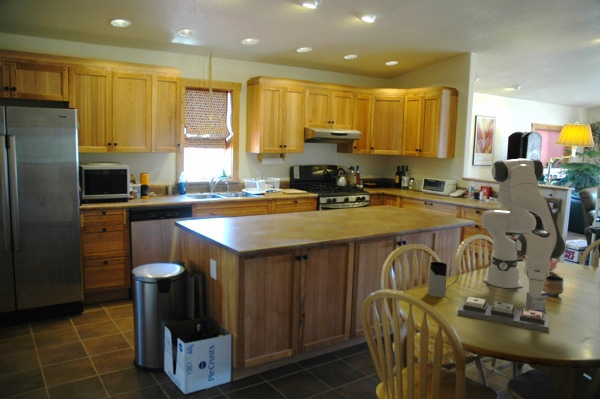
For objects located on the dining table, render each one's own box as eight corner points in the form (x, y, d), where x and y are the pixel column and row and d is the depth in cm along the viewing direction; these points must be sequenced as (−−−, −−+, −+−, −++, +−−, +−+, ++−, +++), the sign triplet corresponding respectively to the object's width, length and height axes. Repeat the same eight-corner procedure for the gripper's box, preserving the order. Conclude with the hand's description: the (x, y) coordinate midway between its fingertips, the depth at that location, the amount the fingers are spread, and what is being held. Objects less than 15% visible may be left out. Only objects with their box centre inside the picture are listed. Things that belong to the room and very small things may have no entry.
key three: (523, 313, 187) (523, 308, 187) (541, 316, 184) (542, 311, 184) (522, 318, 181) (522, 313, 181) (541, 322, 178) (542, 317, 178)
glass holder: (425, 290, 221) (427, 261, 219) (455, 292, 219) (457, 262, 217) (429, 296, 212) (431, 265, 210) (459, 298, 210) (462, 267, 209)
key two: (495, 305, 193) (495, 301, 192) (512, 309, 189) (513, 304, 189) (493, 310, 186) (493, 306, 186) (511, 314, 183) (512, 309, 183)
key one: (468, 300, 198) (468, 296, 198) (485, 303, 194) (485, 299, 194) (465, 305, 192) (466, 300, 191) (483, 309, 188) (483, 304, 188)
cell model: (518, 271, 259) (519, 252, 257) (531, 265, 272) (533, 247, 271) (549, 278, 246) (551, 258, 245) (561, 271, 260) (563, 253, 259)
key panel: (463, 304, 202) (463, 296, 202) (548, 320, 186) (549, 312, 186) (457, 314, 190) (458, 306, 190) (548, 332, 174) (549, 323, 174)
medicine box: (534, 314, 193) (536, 295, 192) (524, 310, 197) (526, 291, 195) (545, 311, 196) (547, 292, 195) (536, 308, 200) (538, 289, 199)
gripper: (529, 262, 191) (526, 293, 193) (527, 275, 173) (524, 308, 175) (546, 264, 188) (542, 295, 190) (546, 278, 170) (542, 312, 172)
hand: (533, 302), depth 182 cm, fingers closed
